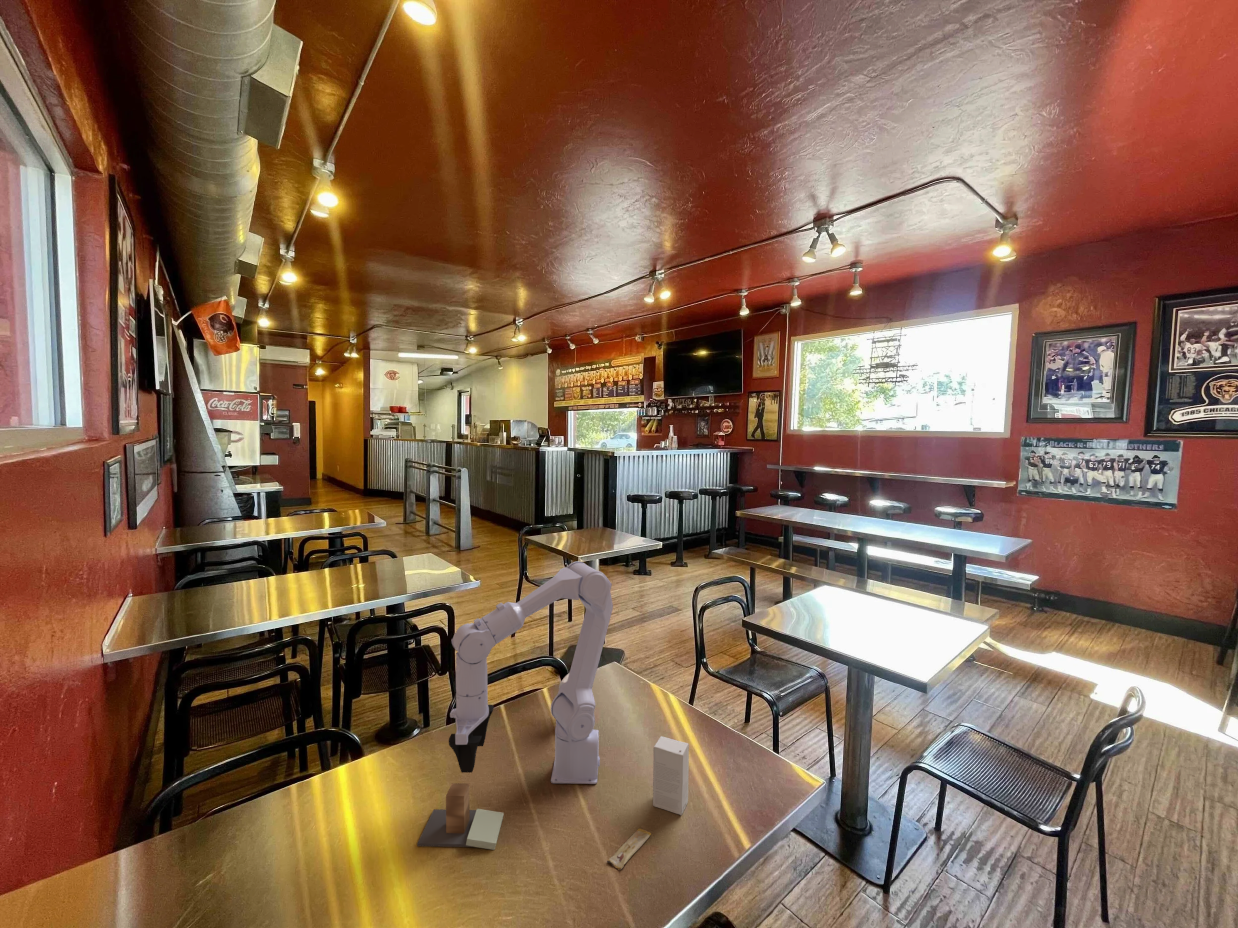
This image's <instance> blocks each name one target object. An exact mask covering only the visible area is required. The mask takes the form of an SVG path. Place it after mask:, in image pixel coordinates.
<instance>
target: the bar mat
mask: <svg viewBox="0 0 1238 928" xmlns="http://www.w3.org/2000/svg"><path fill="white" fill-rule="evenodd" d="M476 810H477V809H469V814H470V820H469V822H468V825H467V828H466V830H465V833H446V809H433V810H432V812H431V814H430V817H429V819H428V821H427V822H426V824H425V826H424V829H423V831H422V833H421V834H420V837H419V839H418V841H417V843H416V845H417V847H440V848H441V847H442V848H443V847H444V848H446V847H448V848H453V847H455V848H475V847H474V846H468V845H466V842H467V837H468V834H469V831H470V828H471V825H472V822H473V819H474V816H475V813H476Z"/></svg>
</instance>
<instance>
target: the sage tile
mask: <svg viewBox="0 0 1238 928" xmlns="http://www.w3.org/2000/svg"><path fill="white" fill-rule="evenodd" d="M475 810H476V813H475V816H474V819H473V822H472V825H471V828H470V831H469V834H468V837H467V842H466V845H468V846H474V847H473V848H480V849H486V850H493V851H495V849H496V846H497V842H498V838H499V835H500V831H501V826H502V823H503V819H504V814H505V812H500V811H494V810H488V809H481V808H476V809H475Z"/></svg>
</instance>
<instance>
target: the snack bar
mask: <svg viewBox="0 0 1238 928" xmlns="http://www.w3.org/2000/svg"><path fill="white" fill-rule="evenodd" d="M651 835H652V833H651V832H649V831H648V830H645V829H643V828H641V827H639V828H638V829H637V830H636V831H635V832H634V833H633V834H632V835H631V836H630V837H629V838H628V839H627V840H626V841H625V842H624V843H623V844H622V845H621V846H620V847H619V848H618V849H617V850H616V851H615V853H613V855H612V856H610V857H609V858H608V859H607V860H606V862H607V863H608V864H611V865H612V867H614V868H615V869H616V870H618V871H621V870H622V869H623V868H624V867H625V864H627V862H629V860H630V859H631V858H632V857H633V855H634V854H635V853H636V852H637V851H638V850H639V849H640V848H641V847H642V846H643V845H644V844H645V842H646V841H647V840H648V839H649V838H650V837H651Z"/></svg>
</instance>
